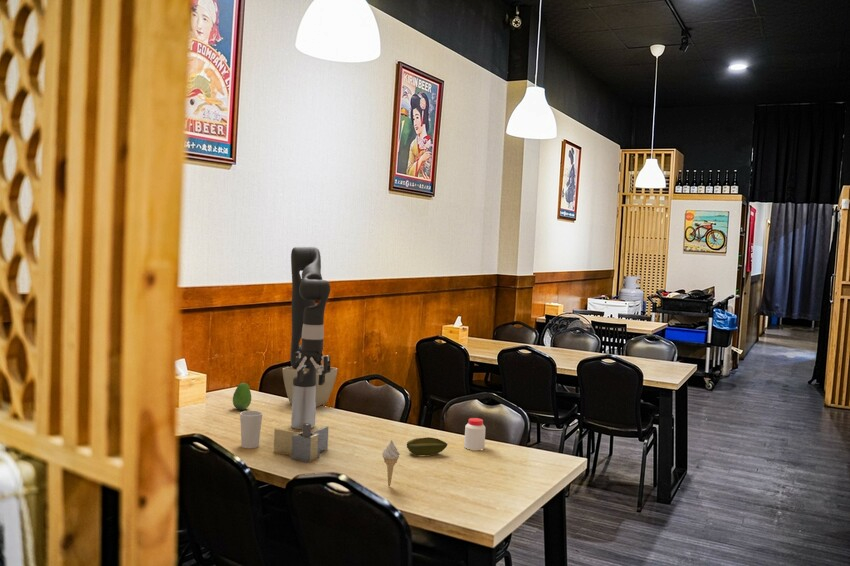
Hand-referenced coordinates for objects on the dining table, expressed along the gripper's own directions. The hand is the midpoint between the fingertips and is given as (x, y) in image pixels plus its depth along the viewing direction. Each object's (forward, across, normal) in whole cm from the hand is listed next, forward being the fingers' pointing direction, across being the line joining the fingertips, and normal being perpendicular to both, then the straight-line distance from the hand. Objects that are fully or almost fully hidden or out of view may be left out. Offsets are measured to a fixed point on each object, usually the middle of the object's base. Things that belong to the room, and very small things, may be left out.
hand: (310, 383), depth 244 cm
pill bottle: (+27, -44, -47) cm, 70 cm away
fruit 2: (+27, -32, -28) cm, 51 cm away
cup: (+27, +25, 0) cm, 37 cm away
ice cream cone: (+26, -38, +9) cm, 47 cm away
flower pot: (+27, +47, -68) cm, 87 cm away
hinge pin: (+26, 0, 0) cm, 27 cm away
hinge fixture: (+26, +5, -4) cm, 27 cm away
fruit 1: (+27, +64, -41) cm, 80 cm away
